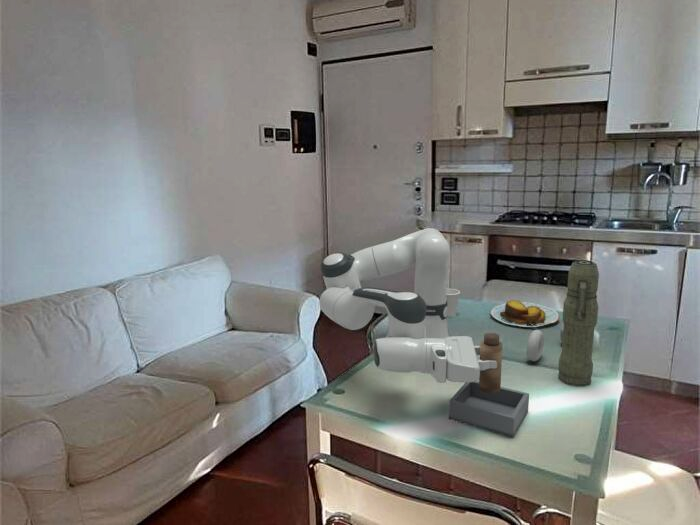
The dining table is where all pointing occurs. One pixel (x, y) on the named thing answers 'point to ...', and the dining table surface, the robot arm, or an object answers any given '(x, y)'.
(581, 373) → the thermos
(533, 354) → the donut
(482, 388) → the pepper mill
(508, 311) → the food on plate
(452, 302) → the dixie cup
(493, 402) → the bin
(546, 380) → the dining table surface
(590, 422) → the dining table surface
